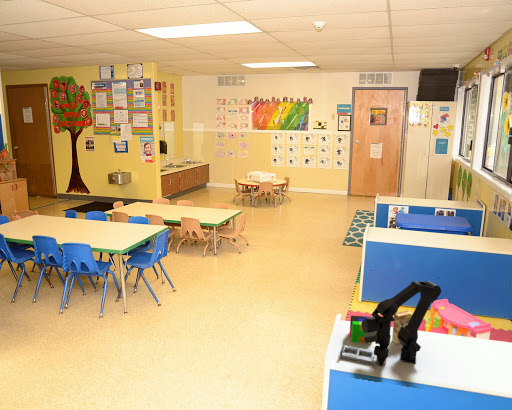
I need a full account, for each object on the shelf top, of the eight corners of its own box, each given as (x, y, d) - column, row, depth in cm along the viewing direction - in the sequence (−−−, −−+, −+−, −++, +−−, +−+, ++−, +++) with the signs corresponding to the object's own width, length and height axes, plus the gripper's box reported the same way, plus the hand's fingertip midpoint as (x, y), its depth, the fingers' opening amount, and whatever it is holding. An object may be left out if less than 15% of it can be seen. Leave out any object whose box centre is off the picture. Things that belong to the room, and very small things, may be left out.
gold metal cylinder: (386, 362, 201) (387, 350, 200) (385, 366, 197) (386, 354, 196) (376, 360, 202) (377, 348, 201) (375, 364, 198) (376, 352, 197)
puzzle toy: (368, 334, 227) (370, 316, 225) (371, 343, 218) (373, 325, 216) (349, 332, 228) (350, 315, 226) (351, 342, 219) (353, 324, 217)
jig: (374, 354, 207) (375, 347, 206) (372, 364, 198) (373, 357, 197) (343, 348, 212) (344, 341, 212) (340, 358, 203) (340, 350, 202)
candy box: (397, 344, 217) (399, 316, 214) (391, 340, 221) (393, 312, 218) (410, 341, 220) (413, 313, 218) (405, 337, 224) (407, 310, 221)
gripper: (368, 318, 208) (365, 347, 211) (363, 335, 190) (361, 367, 193) (391, 322, 204) (389, 352, 207) (389, 340, 187) (386, 372, 190)
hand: (381, 360), depth 199 cm, fingers open, 9 cm apart
